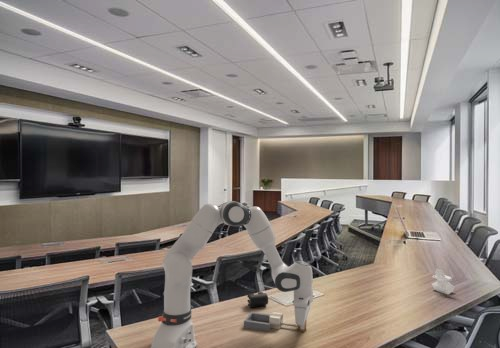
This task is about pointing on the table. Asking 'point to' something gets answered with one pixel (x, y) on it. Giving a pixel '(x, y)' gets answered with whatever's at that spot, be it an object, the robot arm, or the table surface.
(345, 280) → the table surface
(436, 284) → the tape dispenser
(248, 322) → the tray
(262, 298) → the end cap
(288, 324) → the corded block
